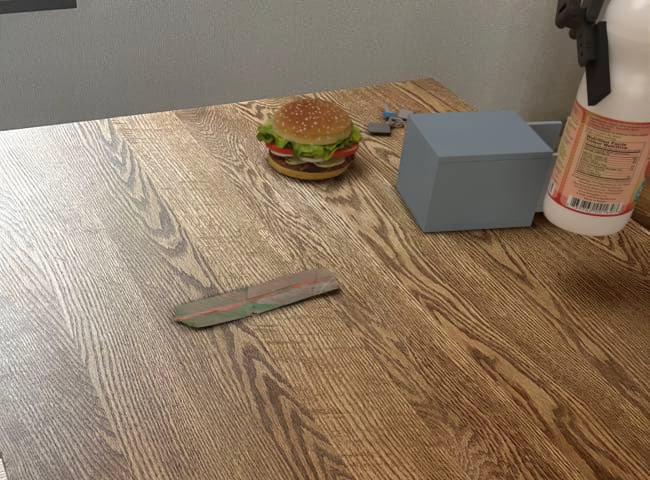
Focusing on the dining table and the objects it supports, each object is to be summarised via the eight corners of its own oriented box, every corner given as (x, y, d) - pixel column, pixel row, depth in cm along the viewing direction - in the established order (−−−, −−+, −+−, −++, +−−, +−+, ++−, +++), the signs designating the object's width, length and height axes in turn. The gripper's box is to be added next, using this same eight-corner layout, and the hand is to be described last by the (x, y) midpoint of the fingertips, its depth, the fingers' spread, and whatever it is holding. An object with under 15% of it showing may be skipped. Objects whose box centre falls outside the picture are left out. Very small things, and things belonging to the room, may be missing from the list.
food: (312, 133, 123) (317, 76, 118) (374, 169, 116) (383, 110, 110) (238, 155, 118) (239, 95, 112) (298, 194, 111) (303, 132, 105)
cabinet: (495, 181, 115) (514, 109, 108) (530, 226, 107) (553, 151, 99) (395, 186, 113) (407, 113, 106) (423, 232, 105) (439, 156, 97)
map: (165, 314, 92) (165, 306, 91) (323, 265, 98) (323, 258, 97) (184, 338, 89) (184, 331, 88) (345, 286, 95) (346, 279, 94)
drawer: (595, 172, 116) (616, 114, 110) (634, 211, 108) (658, 151, 102) (466, 179, 113) (480, 119, 107) (496, 219, 106) (513, 158, 100)
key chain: (376, 138, 123) (377, 132, 122) (343, 118, 127) (343, 113, 126) (445, 119, 128) (446, 114, 127) (411, 101, 132) (411, 96, 132)
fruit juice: (524, 203, 94) (614, -103, 73) (595, 193, 96) (702, -107, 75) (570, 243, 88) (683, -76, 67) (644, 232, 90) (775, -82, 69)
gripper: (708, -119, 83) (720, 111, 85) (504, -118, 80) (522, 119, 82) (765, -178, 75) (777, 74, 77) (543, -181, 73) (561, 82, 74)
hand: (646, 97), depth 79 cm, fingers closed on fruit juice, 9 cm apart
